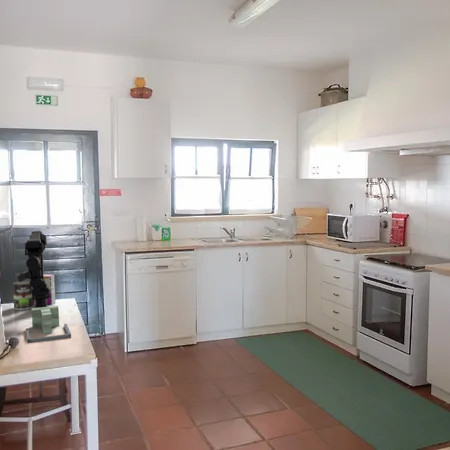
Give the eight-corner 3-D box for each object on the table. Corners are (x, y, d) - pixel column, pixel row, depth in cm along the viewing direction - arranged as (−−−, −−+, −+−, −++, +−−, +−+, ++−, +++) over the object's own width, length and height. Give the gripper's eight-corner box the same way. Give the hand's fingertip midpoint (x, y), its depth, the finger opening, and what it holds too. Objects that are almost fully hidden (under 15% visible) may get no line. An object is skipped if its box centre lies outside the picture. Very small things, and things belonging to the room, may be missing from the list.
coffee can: (34, 308, 275) (33, 283, 274) (14, 310, 271) (12, 285, 269) (33, 304, 284) (32, 279, 283) (13, 306, 280) (12, 281, 279)
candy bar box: (33, 304, 284) (31, 275, 282) (37, 302, 289) (35, 274, 287) (52, 304, 283) (50, 276, 281) (55, 302, 288) (54, 274, 286)
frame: (25, 331, 235) (25, 328, 235) (66, 326, 242) (66, 323, 242) (27, 343, 219) (27, 340, 219) (71, 337, 226) (71, 334, 226)
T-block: (32, 326, 243) (31, 308, 242) (58, 323, 247) (57, 305, 246) (33, 335, 230) (32, 316, 229) (61, 331, 235) (60, 312, 234)
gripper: (16, 263, 252) (18, 294, 254) (17, 270, 235) (19, 302, 237) (40, 261, 257) (41, 291, 258) (42, 268, 240) (44, 300, 241)
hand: (36, 296), depth 249 cm, fingers closed
